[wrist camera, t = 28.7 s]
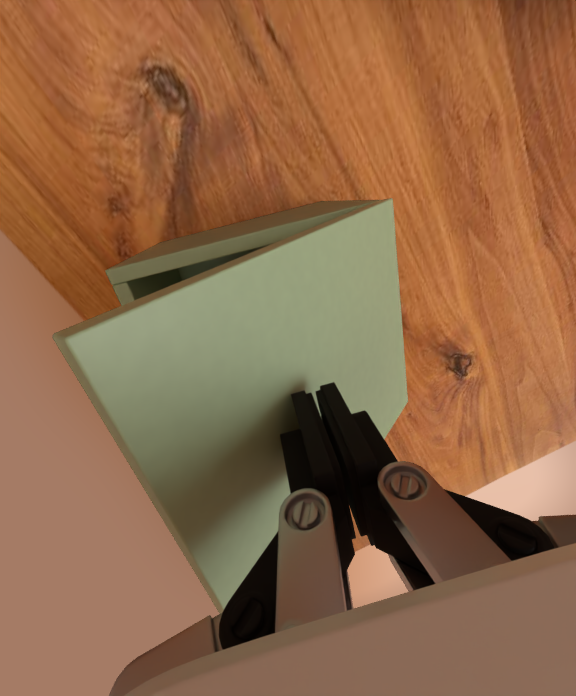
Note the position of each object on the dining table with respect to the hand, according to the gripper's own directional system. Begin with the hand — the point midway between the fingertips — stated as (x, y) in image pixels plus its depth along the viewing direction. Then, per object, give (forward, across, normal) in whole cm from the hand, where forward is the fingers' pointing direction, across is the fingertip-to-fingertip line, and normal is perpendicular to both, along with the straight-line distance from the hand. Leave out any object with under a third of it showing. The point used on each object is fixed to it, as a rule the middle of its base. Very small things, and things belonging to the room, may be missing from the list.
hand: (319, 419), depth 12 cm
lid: (+2, -1, 0) cm, 2 cm away
